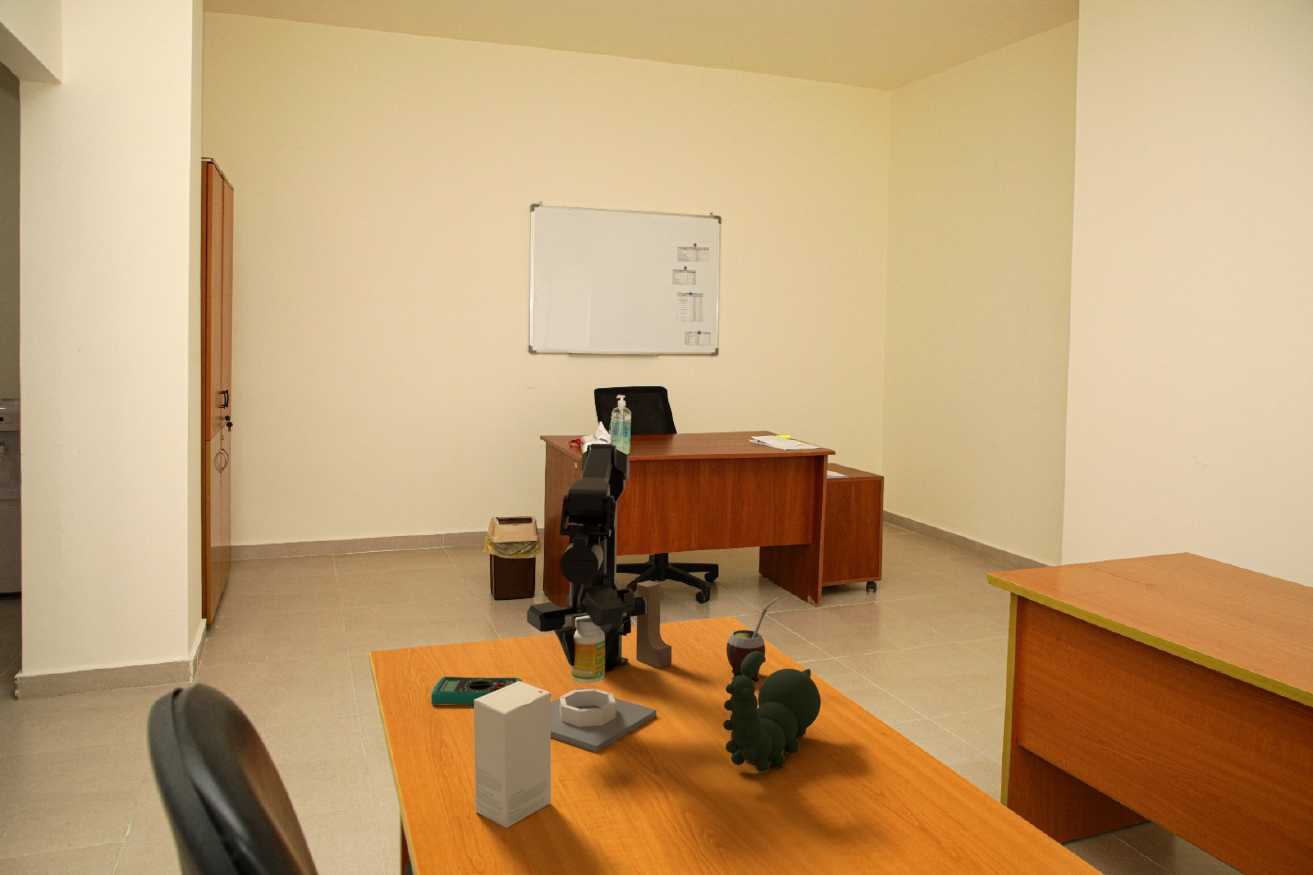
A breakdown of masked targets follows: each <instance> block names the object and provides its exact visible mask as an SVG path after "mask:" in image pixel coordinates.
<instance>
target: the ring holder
mask: <svg viewBox="0 0 1313 875" xmlns="http://www.w3.org/2000/svg"><path fill="white" fill-rule="evenodd" d="M550 714H551V739H555V740H558V741H561V742H564V743H566V744H570V745H573V746H577V747H579V748H582V749H584V750H587V751H591V752H594V753H598V752H600V751H601V750H603V749H605V748H606V747H608V746H609V745H611V744H613V743H614V742H616V741H617V740H619V739H621V738H622V737H625V736H626V735H627V734H629V733H631V732H632V731H634V730H636V729H637V728H640V726H642V725H643V724H644V725H645V723H648V722H649V721H650V720H652V719H654V718H655V717H657V709H655V708H651V707H648V706H645V705H640V704H637V703H633V702H632V701H631V702H630V701H627V700H622V699H620V698H616V697H614V694H613V693H611V692H608V691H605V690H602V689H597V688H589V689H588V688H587V689H585V688H582V687H578V688H576V689H573V690H571V691H568V692H567V693H564V694H563V695H561V696H559V697H558V698H556V699H555V700H552V701H551V706H550Z"/></svg>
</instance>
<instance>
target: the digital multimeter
mask: <svg viewBox="0 0 1313 875" xmlns="http://www.w3.org/2000/svg"><path fill="white" fill-rule="evenodd" d="M518 681H520V682H523V679H521V678H519V677H472V676H471V677H469V676H468V677H466V676H465V677H463V676H442V677H441V678H440V679H439V680H438V681H437V682H436V683H435V685H434V687H433V689H432V690H431V705H432V704H433V706H437V705H436V704H464V705H463V706H474V699H477V698H480V697H482V696H484V695H487V694H489V693H492V692H494V691H497V690H499V689H501V688H504V687H506V686H509V685H511V684H513V683H516V682H518ZM434 704H435V705H434ZM465 704H467V705H465Z"/></svg>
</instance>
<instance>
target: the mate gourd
mask: <svg viewBox="0 0 1313 875" xmlns="http://www.w3.org/2000/svg"><path fill="white" fill-rule="evenodd" d="M779 598H780V597H775V598H774V599H773V600H771V601H770V602H769V603H767V604H766V605H765V606H764V608H762V610H761V612H760V617H759V619H758V623H757V625H756V627H755V630H750V629H740V630H739V629H738V630H735V631H733V632H732V633H731V634H730V635H729V637H728V638H727V643H726V649H725V650H726V657H727V660H728V664H729V665H730V667H731V668H732V669H731V673H732V674H733V677H731V679H732V680H733V679H734V678H736V677H737V676H741V675H742V673H741V664H742V662H743V660H744V659H745V657H746V656H747V655H748V654H750V653H751V652H754V651H759V652H762V653H763V654H764V656H765V657H766V646H765V639H764V638H763V637H762V635H761V633H759V629H760V628H761V625H762V622H763V620H764V617H765V615H766V614H767V612H768V609H769V608H770V607H771V606H772V605H773V604H774V603H776V602H777V601H778V600H779ZM762 665H763V663H762V664H761V666H762ZM759 673H760V670H759V671H758V673H757V674H756V675H755V676H754V677H753V678H751V679H752V681H753V682H754V683H759V682H760V678H758V675H759Z"/></svg>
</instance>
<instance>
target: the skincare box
mask: <svg viewBox="0 0 1313 875" xmlns="http://www.w3.org/2000/svg"><path fill="white" fill-rule="evenodd" d="M551 698H552V693H551V692H549V691H548V690H544V689H542V688H539V687H537V686H535V685H534V686H533V685H531V684H528V683H526V682H524V681H522V682H520V681H518V682H516V683H513V684H511V685H509V686H506V687H504V688H501V689H499V690H497V691H494V692H492V693H489V694H487V695H484V696H482V697H480V698H477V699H474V705H473V716H474V717H473V719H474V720H473V721H474V722H473V723H474V727H473V728H474V729H473V730H474V732H473V733H474V788H475V789H474V791H475V793H474V799H475V800H474V803H475V806H474V807H475V808H474V809H475V810H474V811H475V812H476V813H477V814H479V815H481V816H483V817H484V818H487V819H488V820H490V821H492V822H494V823H496V824H498V825H500V826H502V827H504V828H505V829H508V828H509V827H511V826H513V825H516V823H518V822H519V821H522V820H523V819H525V818H527V817H529V816H531V815H533V814H534V813H536V812H538V811H539V810H541V809H543V808H545V807H547V806H548V805H550V804H551V803H552V777H551V776H552V774H551V773H552V772H551V771H552V768H551V767H552V765H551V762H552V761H551V760H552V759H551V758H552V755H551V750H552V749H551V746H552V745H551V744H552V742H551V740H552V737H551V714H550V706H551V702H552V701H551Z"/></svg>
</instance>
